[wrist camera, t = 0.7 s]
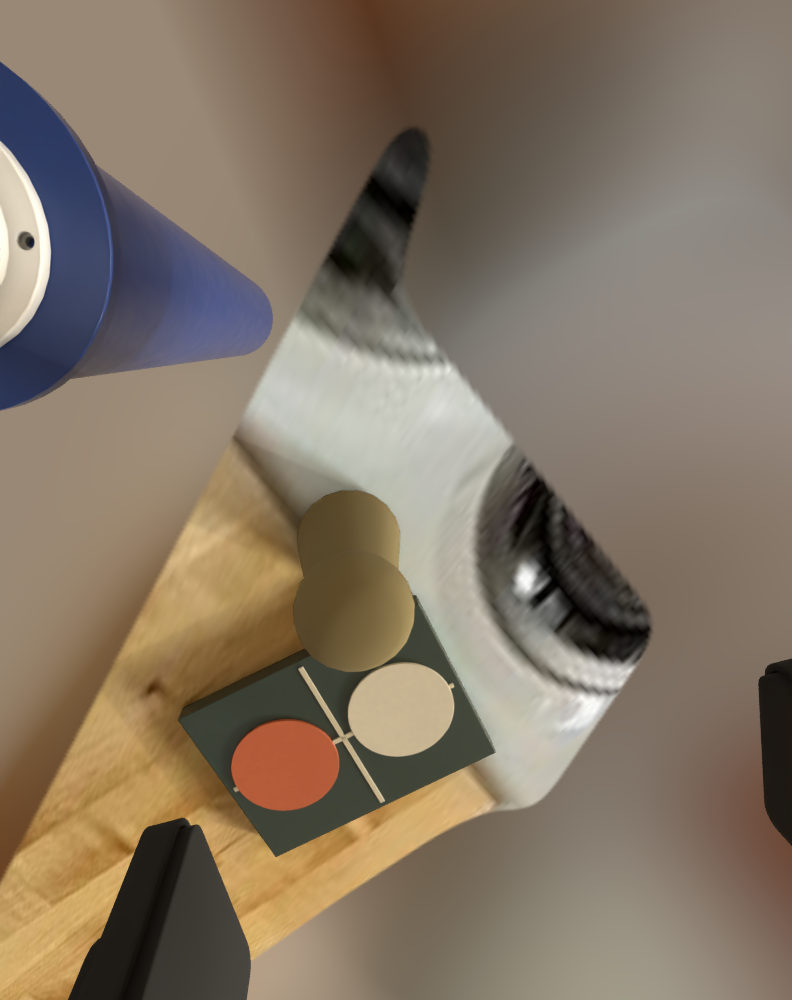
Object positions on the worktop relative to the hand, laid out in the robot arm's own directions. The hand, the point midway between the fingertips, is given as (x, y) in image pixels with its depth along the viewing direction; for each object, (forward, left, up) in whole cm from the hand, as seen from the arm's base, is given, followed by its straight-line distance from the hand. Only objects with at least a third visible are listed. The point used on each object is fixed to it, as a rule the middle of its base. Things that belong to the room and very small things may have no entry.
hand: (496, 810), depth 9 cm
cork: (+3, -3, -25) cm, 25 cm away
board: (+14, -9, -24) cm, 30 cm away
